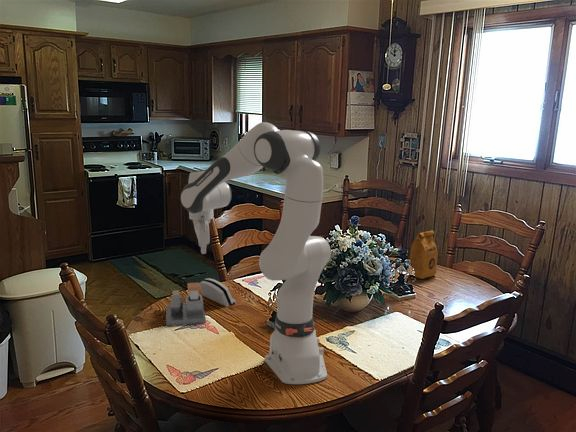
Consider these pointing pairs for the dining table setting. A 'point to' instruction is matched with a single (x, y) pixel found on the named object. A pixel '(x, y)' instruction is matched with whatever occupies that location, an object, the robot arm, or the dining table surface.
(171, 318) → the grey twin-post block
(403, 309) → the dining table surface
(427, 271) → the coffee package
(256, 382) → the dining table surface
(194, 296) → the tan capped white cylinder
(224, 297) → the napkin holder
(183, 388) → the dining table surface
